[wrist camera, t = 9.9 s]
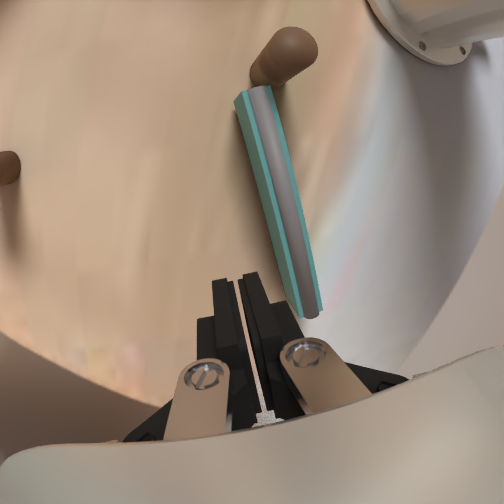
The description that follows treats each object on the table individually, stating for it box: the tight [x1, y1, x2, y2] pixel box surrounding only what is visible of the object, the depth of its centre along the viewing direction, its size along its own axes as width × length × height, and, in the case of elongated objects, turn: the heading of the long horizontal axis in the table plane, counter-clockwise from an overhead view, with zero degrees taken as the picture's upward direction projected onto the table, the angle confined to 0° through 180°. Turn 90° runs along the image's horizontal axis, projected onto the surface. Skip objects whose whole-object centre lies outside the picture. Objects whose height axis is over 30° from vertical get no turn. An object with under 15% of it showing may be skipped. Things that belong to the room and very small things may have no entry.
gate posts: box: [0, 27, 318, 186], centre depth 15 cm, size 22×2×6 cm, turn 105°
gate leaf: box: [234, 85, 323, 319], centre depth 19 cm, size 14×2×4 cm, turn 15°
